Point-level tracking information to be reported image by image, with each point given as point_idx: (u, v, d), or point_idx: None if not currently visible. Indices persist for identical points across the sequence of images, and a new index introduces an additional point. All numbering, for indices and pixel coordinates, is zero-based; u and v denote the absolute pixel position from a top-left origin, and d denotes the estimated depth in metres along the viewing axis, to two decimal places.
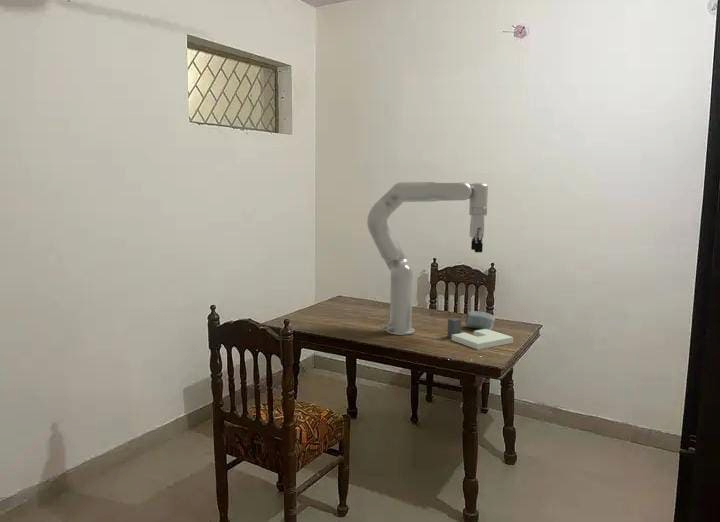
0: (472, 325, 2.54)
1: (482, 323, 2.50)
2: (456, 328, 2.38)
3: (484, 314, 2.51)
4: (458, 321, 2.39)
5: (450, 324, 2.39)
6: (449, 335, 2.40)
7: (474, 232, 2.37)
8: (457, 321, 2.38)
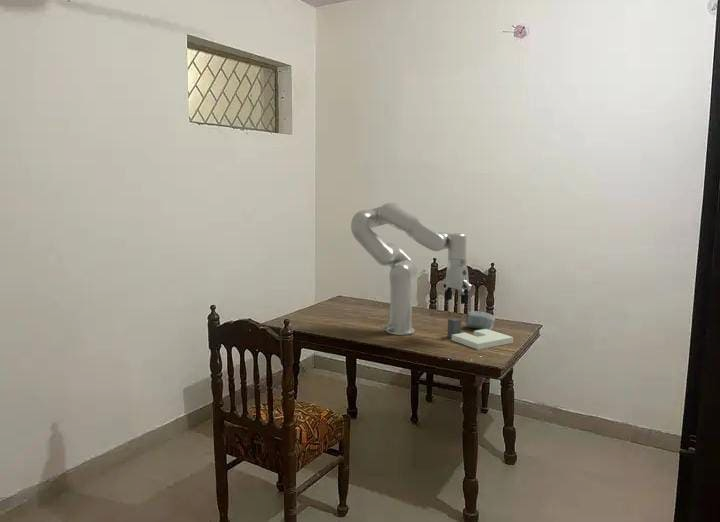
0: (472, 325, 2.54)
1: (483, 323, 2.50)
2: (456, 328, 2.38)
3: (484, 314, 2.51)
4: (458, 321, 2.39)
5: (450, 324, 2.39)
6: (449, 335, 2.40)
7: None
8: (457, 321, 2.38)
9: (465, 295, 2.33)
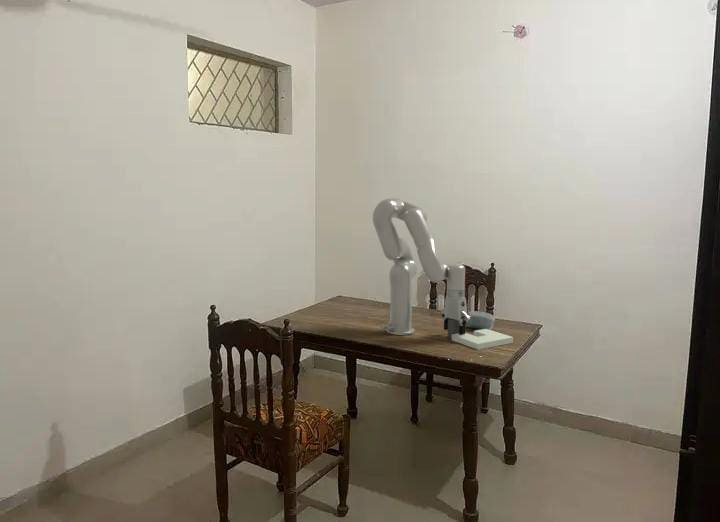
0: (472, 325, 2.54)
1: (483, 323, 2.50)
2: (456, 328, 2.38)
3: (484, 314, 2.51)
4: None
5: (450, 324, 2.39)
6: (449, 335, 2.40)
7: None
8: (457, 321, 2.38)
9: (463, 326, 2.35)
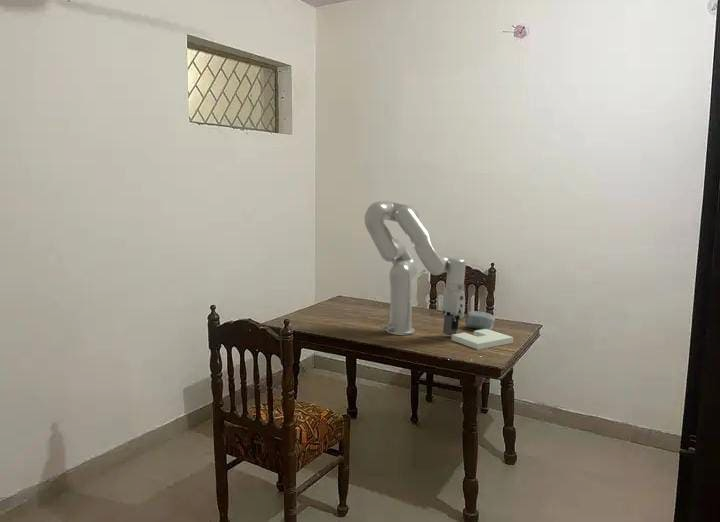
0: (472, 325, 2.54)
1: (483, 323, 2.50)
2: None
3: (484, 314, 2.51)
4: None
5: (446, 320, 2.39)
6: (445, 331, 2.40)
7: None
8: None
9: (456, 321, 2.38)
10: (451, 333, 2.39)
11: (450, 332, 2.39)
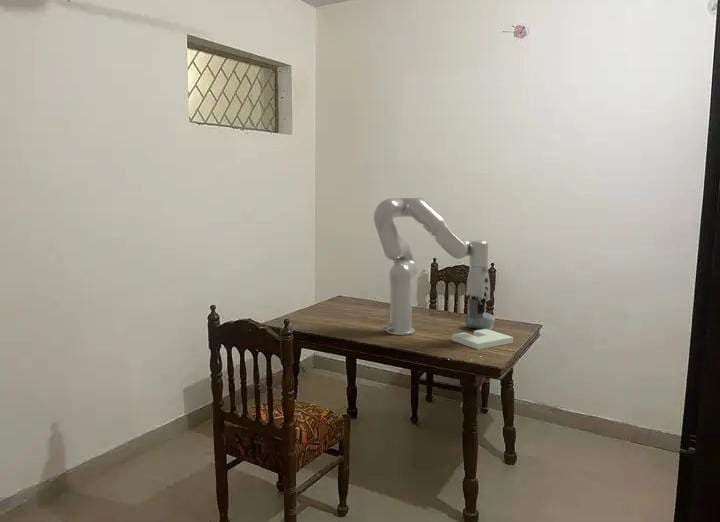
0: (472, 325, 2.54)
1: (482, 323, 2.50)
2: None
3: (484, 314, 2.51)
4: None
5: (472, 304, 2.35)
6: (471, 316, 2.36)
7: None
8: None
9: (482, 305, 2.33)
10: (477, 317, 2.34)
11: (477, 316, 2.34)
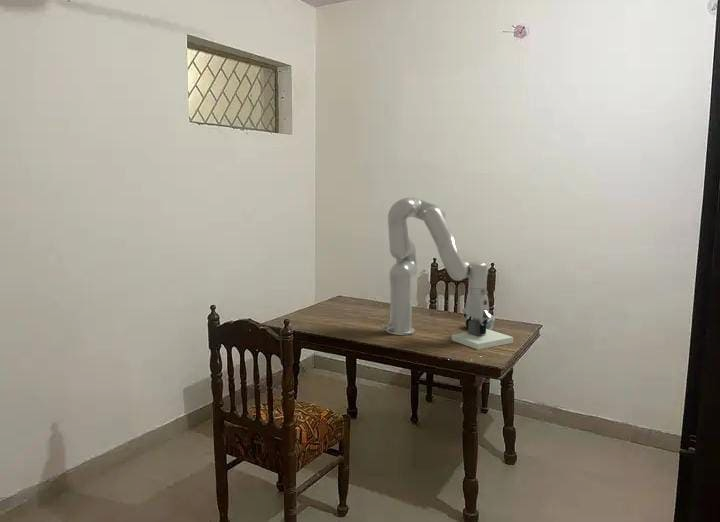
0: None
1: None
2: (476, 330, 2.35)
3: None
4: (479, 323, 2.36)
5: (471, 326, 2.37)
6: None
7: None
8: (478, 323, 2.35)
9: (484, 326, 2.33)
10: None
11: None
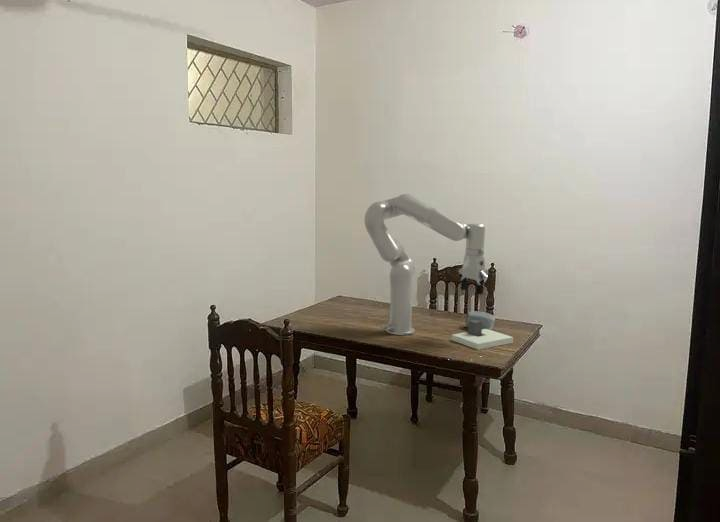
0: None
1: (482, 323, 2.50)
2: (476, 330, 2.35)
3: (484, 314, 2.51)
4: (479, 323, 2.36)
5: (471, 326, 2.37)
6: None
7: None
8: (478, 323, 2.35)
9: (481, 286, 2.34)
10: None
11: None
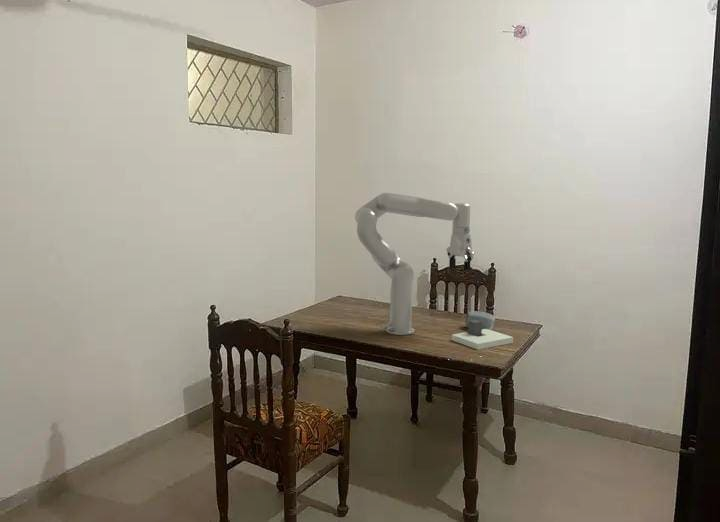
0: None
1: (483, 323, 2.50)
2: (476, 330, 2.35)
3: (484, 314, 2.51)
4: (479, 323, 2.36)
5: (471, 326, 2.37)
6: None
7: None
8: (478, 323, 2.35)
9: (468, 262, 2.45)
10: None
11: None
